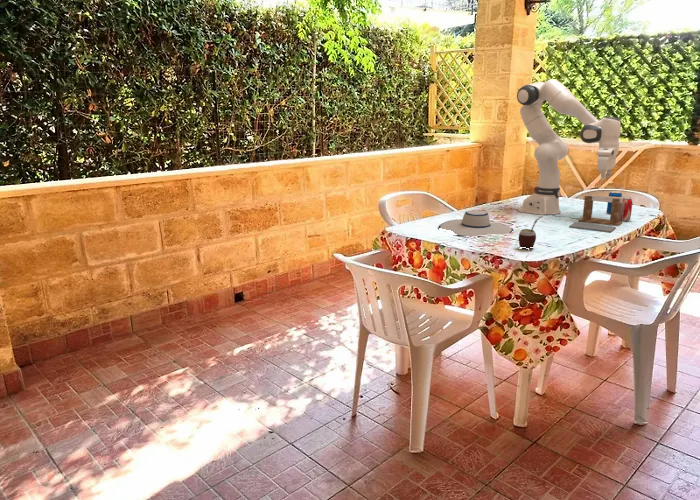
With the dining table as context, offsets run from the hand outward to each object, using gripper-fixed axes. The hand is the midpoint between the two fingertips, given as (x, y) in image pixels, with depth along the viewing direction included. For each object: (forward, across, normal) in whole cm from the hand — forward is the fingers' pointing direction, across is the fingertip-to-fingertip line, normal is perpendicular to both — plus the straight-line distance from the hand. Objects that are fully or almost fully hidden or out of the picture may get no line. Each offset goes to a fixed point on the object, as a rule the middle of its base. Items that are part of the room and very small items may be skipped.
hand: (605, 178), depth 258 cm
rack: (+22, 0, 0) cm, 22 cm away
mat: (+22, +15, 0) cm, 27 cm away
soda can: (+23, -10, +8) cm, 26 cm away
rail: (+11, 0, 0) cm, 11 cm away
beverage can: (+22, -25, 0) cm, 34 cm away
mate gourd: (+22, +68, -13) cm, 73 cm away
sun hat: (+23, +47, -47) cm, 70 cm away
